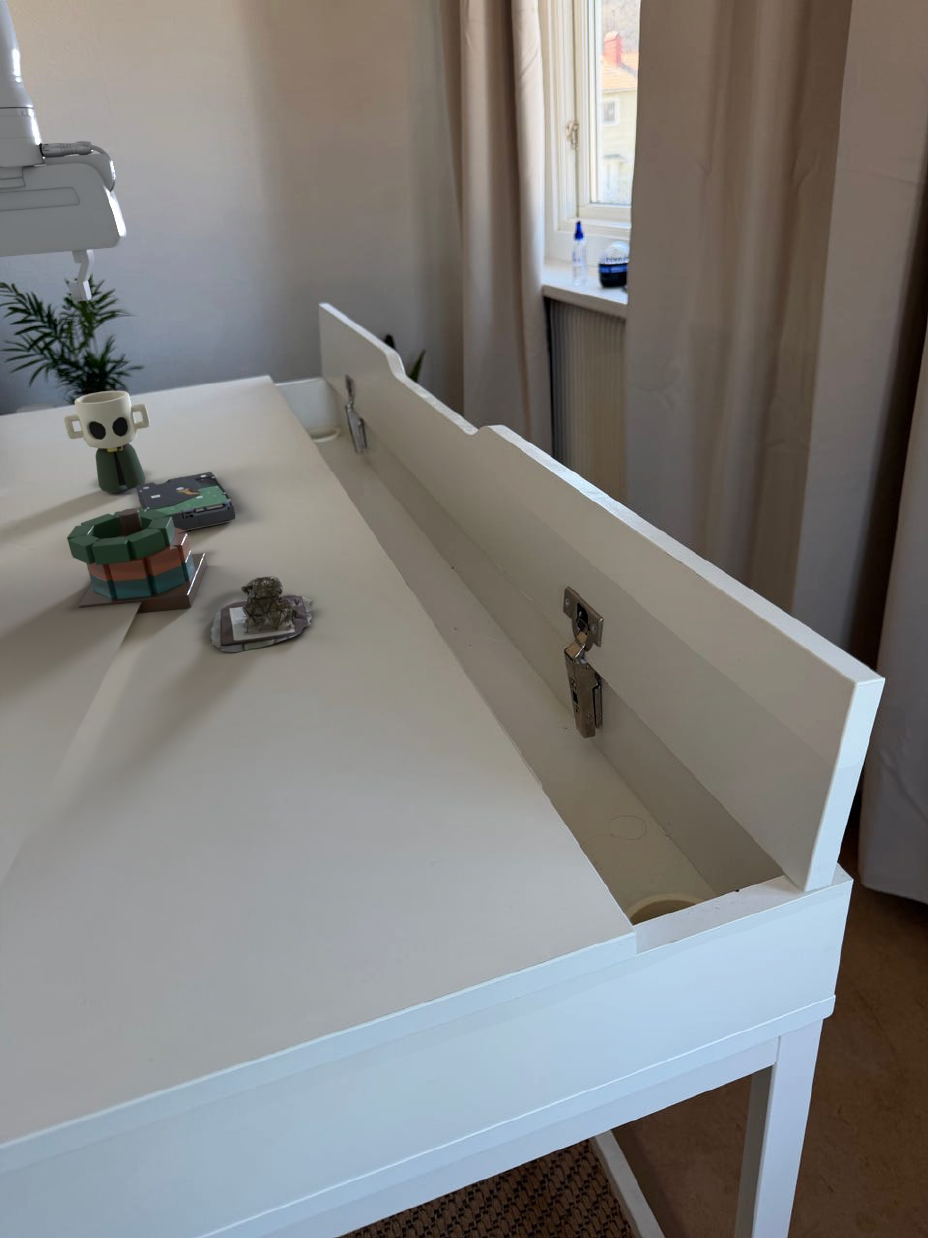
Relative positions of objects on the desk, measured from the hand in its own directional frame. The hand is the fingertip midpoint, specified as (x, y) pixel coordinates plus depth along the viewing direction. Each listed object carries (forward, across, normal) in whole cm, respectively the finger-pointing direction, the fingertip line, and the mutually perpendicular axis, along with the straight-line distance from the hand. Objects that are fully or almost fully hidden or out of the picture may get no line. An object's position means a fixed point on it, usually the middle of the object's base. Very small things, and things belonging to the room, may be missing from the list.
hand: (33, 304), depth 93 cm
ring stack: (+29, -6, +6) cm, 30 cm away
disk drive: (+29, -6, -18) cm, 35 cm away
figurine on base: (+29, -19, +16) cm, 39 cm away
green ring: (+24, -5, +6) cm, 25 cm away
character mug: (+29, +5, -31) cm, 43 cm away
